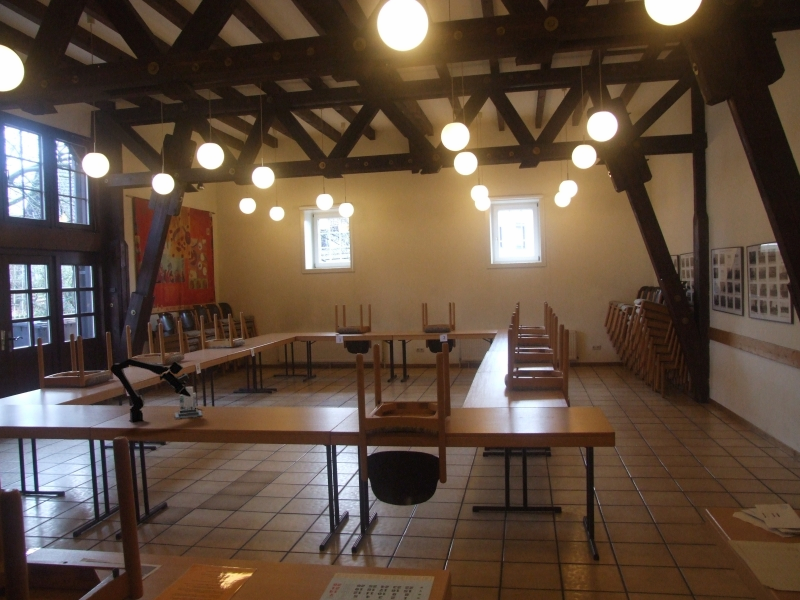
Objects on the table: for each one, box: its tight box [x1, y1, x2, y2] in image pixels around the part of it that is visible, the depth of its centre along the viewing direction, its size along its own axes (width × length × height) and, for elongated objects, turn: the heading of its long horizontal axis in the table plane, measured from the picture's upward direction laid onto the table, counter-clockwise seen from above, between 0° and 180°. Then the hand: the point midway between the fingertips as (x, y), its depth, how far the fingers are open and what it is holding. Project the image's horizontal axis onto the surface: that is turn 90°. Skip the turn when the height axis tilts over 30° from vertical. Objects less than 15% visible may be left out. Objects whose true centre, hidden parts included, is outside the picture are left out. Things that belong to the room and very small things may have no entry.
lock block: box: [183, 386, 194, 407], centre depth 375 cm, size 6×6×12 cm
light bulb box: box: [179, 392, 198, 411], centre depth 397 cm, size 11×7×11 cm, turn 168°
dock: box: [174, 408, 203, 420], centre depth 377 cm, size 16×16×3 cm
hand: (190, 395), depth 375 cm, fingers closed on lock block, 5 cm apart
